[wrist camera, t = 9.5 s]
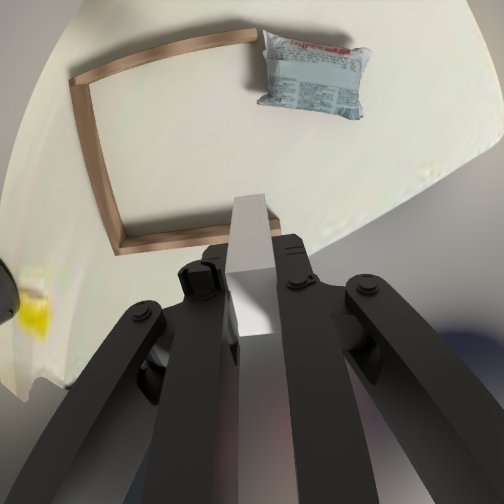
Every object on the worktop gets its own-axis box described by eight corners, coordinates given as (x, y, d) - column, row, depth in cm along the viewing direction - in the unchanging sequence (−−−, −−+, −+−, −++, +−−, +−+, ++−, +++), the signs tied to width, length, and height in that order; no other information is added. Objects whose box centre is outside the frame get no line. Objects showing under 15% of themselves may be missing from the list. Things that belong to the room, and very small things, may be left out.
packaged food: (263, 34, 25) (263, 24, 21) (366, 52, 25) (383, 47, 21) (256, 105, 30) (255, 107, 25) (358, 120, 30) (372, 125, 26)
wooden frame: (123, 244, 39) (115, 255, 36) (81, 79, 27) (68, 80, 24) (279, 225, 37) (281, 236, 35) (256, 33, 25) (256, 27, 23)
